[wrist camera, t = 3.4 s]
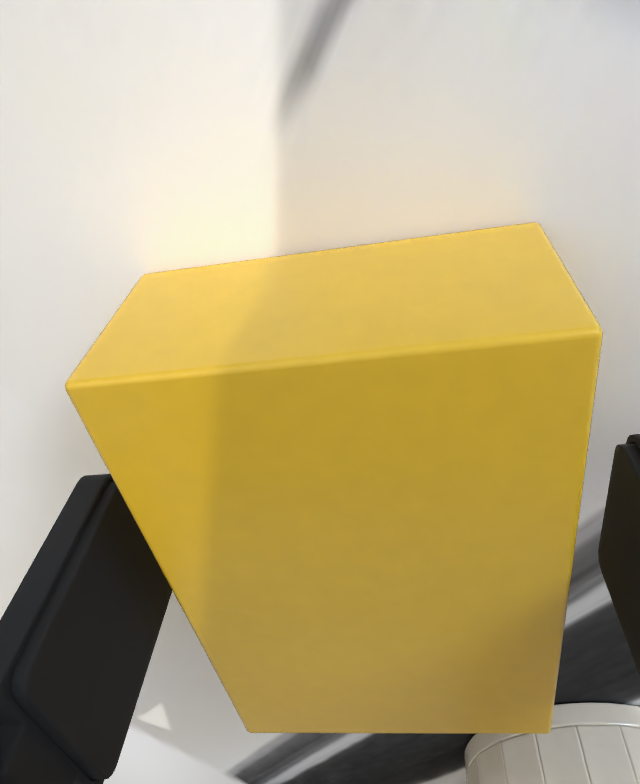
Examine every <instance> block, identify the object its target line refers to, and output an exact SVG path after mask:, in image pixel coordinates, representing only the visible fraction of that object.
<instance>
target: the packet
mask: <svg viewBox="0 0 640 784" xmlns="http://www.w3.org/2000/svg"><path fill="white" fill-rule="evenodd" d="M602 336H603V331H602V329H601V327H600V325H599V323H598V322H597V320H596V318H595V317H594V315H593V313H592V312H591V310H590V308H589V307H588V305H587V303H586V302H585V300H584V298H583V297H582V295H581V293H580V291H579V290H578V288H577V286H576V285H575V283H574V281H573V280H572V278H571V276H570V275H569V273H568V271H567V270H566V268H565V266H564V265H563V263H562V261H561V260H560V258H559V256H558V255H557V253H556V251H555V249H554V248H553V246H552V244H551V243H550V241H549V239H548V238H547V236H546V234H545V233H544V231H543V229H542V228H541V226H540V224H539V223H535V222H534V223H526V224H518V225H511V226H503V227H496V228H488V229H481V230H473V231H466V232H458V233H451V234H443V235H436V236H428V237H421V238H413V239H406V240H398V241H390V242H383V243H375V244H368V245H360V246H353V247H345V248H338V249H330V250H323V251H315V252H308V253H300V254H293V255H285V256H277V257H270V258H262V259H255V260H247V261H240V262H232V263H225V264H217V265H210V266H202V267H195V268H187V269H180V270H172V271H164V272H157V273H149V274H144V275H143V276H141V278H140V279H139V281H138V282H137V283H136V285H135V286H134V288H133V289H132V290H131V292H130V293H129V295H128V296H127V297H126V299H125V300H124V302H123V303H122V304H121V306H120V307H119V309H118V310H117V311H116V313H115V314H114V316H113V317H112V318H111V320H110V321H109V323H108V324H107V325H106V327H105V328H104V330H103V331H102V332H101V334H100V335H99V337H98V338H97V339H96V341H95V342H94V344H93V345H92V346H91V348H90V349H89V351H88V352H87V353H86V355H85V356H84V358H83V359H82V360H81V362H80V363H79V365H78V366H77V367H76V369H75V370H74V372H73V373H72V374H71V376H70V377H69V379H68V380H67V381H66V384H65V388H66V391H67V393H68V395H69V397H70V399H71V401H72V403H73V405H74V406H75V408H76V410H77V412H78V414H79V416H80V418H81V420H82V421H83V423H84V425H85V427H86V429H87V431H88V433H89V435H90V436H91V438H92V440H93V442H94V444H95V446H96V448H97V450H98V451H99V453H100V455H101V457H102V459H103V461H104V463H105V465H106V466H107V468H108V470H109V472H110V474H111V476H112V478H113V480H114V481H115V483H116V485H117V487H118V489H119V491H120V493H121V495H122V496H123V498H124V500H125V502H126V504H127V506H128V508H129V510H130V511H131V513H132V515H133V517H134V519H135V521H136V523H137V525H138V526H139V528H140V530H141V532H142V534H143V536H144V538H145V540H146V542H147V543H148V545H149V547H150V549H151V551H152V553H153V555H154V557H155V558H156V560H157V562H158V564H159V566H160V568H161V570H162V572H163V573H164V575H165V577H166V579H167V581H168V583H169V585H170V587H171V588H172V590H173V592H174V594H175V596H176V598H177V600H178V602H179V603H180V605H181V607H182V609H183V611H184V613H185V615H186V617H187V618H188V620H189V622H190V624H191V626H192V628H193V630H194V632H195V633H196V635H197V637H198V639H199V641H200V643H201V645H202V647H203V648H204V650H205V652H206V654H207V656H208V658H209V660H210V662H211V663H212V665H213V667H214V669H215V671H216V673H217V675H218V677H219V678H220V680H221V682H222V684H223V686H224V688H225V690H226V692H227V693H228V695H229V697H230V699H231V701H232V703H233V705H234V707H235V708H236V710H237V712H238V714H239V716H240V718H241V720H242V722H243V723H244V725H245V727H246V729H247V731H248V732H250V733H518V734H547V733H549V732H550V731H551V724H552V716H553V709H554V701H555V693H556V686H557V678H558V671H559V663H560V655H561V648H562V640H563V633H564V625H565V617H566V610H567V602H568V594H569V587H570V579H571V572H572V564H573V556H574V549H575V541H576V534H577V526H578V518H579V511H580V503H581V495H582V488H583V480H584V473H585V465H586V457H587V450H588V442H589V435H590V427H591V419H592V412H593V404H594V396H595V389H596V381H597V374H598V366H599V358H600V351H601V343H602Z"/></svg>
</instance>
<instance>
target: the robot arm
mask: <svg viewBox="0 0 640 784" xmlns="http://www.w3.org/2000/svg"><path fill="white" fill-rule="evenodd" d="M598 555H599V563H600V568H601V571H602V574H603V577H604V579H605V582H606V585H607V588H608V590H609V593H610V596H611V599H612V601H613V604H614V607H615V609H616V612H617V615H618V618H619V620H620V623H621V626H622V629H623V631H624V634H625V637H626V640H627V642H628V645H629V648H630V650H631V653H632V656H633V659H634V661H635V664H636V667H637V670H638V672H639V675H640V434H635V435H630V436H629V437H628V438H627V442H626V444H622V445H617V446H616V449H615V453H614V459H613V465H612V471H611V477H610V483H609V489H608V495H607V501H606V507H605V513H604V519H603V525H602V531H601V537H600V543H599V550H598ZM171 593H172V588H171V587H170V585H169V583H168V581H167V579H166V577H165V575H164V573H163V572H162V570H161V568H160V566H159V564H158V562H157V560H156V558H155V557H154V555H153V553H152V551H151V549H150V547H149V545H148V543H147V542H146V540H145V538H144V536H143V534H142V532H141V530H140V528H139V526H138V525H137V523H136V521H135V519H134V517H133V515H132V513H131V511H130V510H129V508H128V506H127V504H126V502H125V500H124V498H123V496H122V495H121V493H120V491H119V489H118V487H117V485H116V483H115V481H114V480H113V478H112V476H111V474H103V475H89V476H84V477H82V478H81V479H80V480H79V481H78V483H77V484H76V486H75V488H74V490H73V492H72V493H71V495H70V497H69V499H68V500H67V502H66V504H65V506H64V508H63V509H62V511H61V513H60V515H59V517H58V518H57V520H56V522H55V524H54V525H53V527H52V529H51V531H50V533H49V534H48V536H47V538H46V540H45V541H44V543H43V545H42V547H41V549H40V550H39V552H38V554H37V556H36V557H35V559H34V561H33V563H32V565H31V566H30V568H29V570H28V572H27V574H26V575H25V577H24V579H23V581H22V582H21V584H20V586H19V588H18V590H17V591H16V593H15V595H14V597H13V598H12V600H11V602H10V604H9V606H8V607H7V609H6V611H5V613H4V615H3V616H2V618H1V620H0V784H103V782H104V779H108V778H109V777H110V776H111V775H112V774H113V772H114V770H115V768H116V765H117V763H118V760H119V756H120V753H121V750H122V747H123V744H124V741H125V738H126V734H127V731H128V728H129V725H130V722H131V719H132V715H133V712H134V709H135V706H136V703H137V700H138V697H139V693H140V690H141V687H142V684H143V681H144V678H145V675H146V671H147V668H148V665H149V662H150V659H151V656H152V653H153V649H154V646H155V643H156V640H157V637H158V634H159V631H160V627H161V624H162V621H163V618H164V615H165V612H166V609H167V605H168V602H169V599H170V596H171Z"/></svg>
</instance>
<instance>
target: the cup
mask: <svg viewBox="0 0 640 784" xmlns="http://www.w3.org/2000/svg"><path fill="white" fill-rule="evenodd" d="M464 761H465V770H466V779H467V784H640V707H639V706H632V705H626V704H615V703H569V704H559V705H554V709H553V716H552V724H551V731H550V732H549V733H547V734H518V733H476V734H475V735H474V736H473V737H472V738H471V740H470V741H469V742H468V744H467V746H466V749H465V754H464Z"/></svg>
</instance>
